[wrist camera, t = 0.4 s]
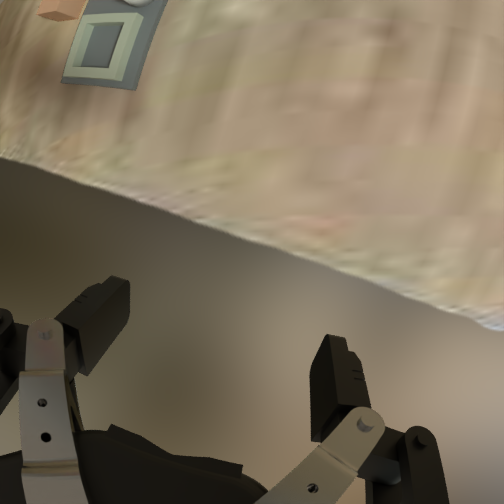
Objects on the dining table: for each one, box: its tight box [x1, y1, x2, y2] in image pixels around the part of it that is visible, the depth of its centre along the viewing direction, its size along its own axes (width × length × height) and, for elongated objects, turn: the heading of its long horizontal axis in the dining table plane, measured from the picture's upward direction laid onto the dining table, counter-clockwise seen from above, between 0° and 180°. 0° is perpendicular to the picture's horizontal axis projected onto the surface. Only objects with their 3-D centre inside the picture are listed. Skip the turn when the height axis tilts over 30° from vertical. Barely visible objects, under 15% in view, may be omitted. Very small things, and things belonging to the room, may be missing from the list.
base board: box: [61, 0, 168, 91], centre depth 28 cm, size 18×14×5 cm
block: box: [36, 0, 86, 21], centre depth 26 cm, size 5×5×6 cm
